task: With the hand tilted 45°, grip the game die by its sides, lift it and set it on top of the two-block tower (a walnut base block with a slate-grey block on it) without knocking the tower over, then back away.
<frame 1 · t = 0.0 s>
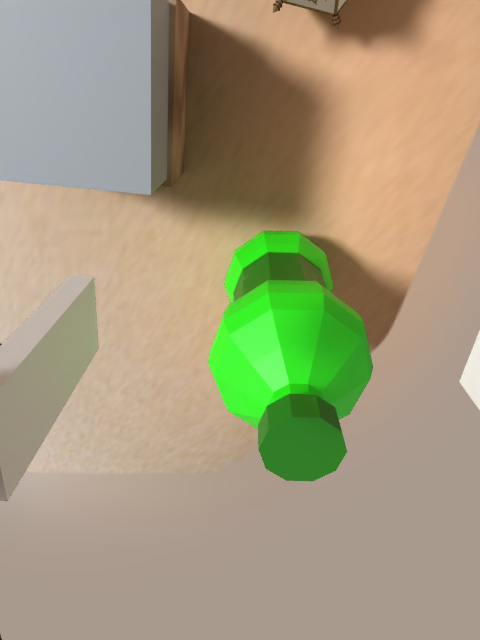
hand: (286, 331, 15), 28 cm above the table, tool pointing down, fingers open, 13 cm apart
tower base: (115, 90, 37), on the table, touching tower top
tower top: (89, 89, 31), point 7 cm above the table, touching tower base
plastic bottle: (276, 267, 44), on the table
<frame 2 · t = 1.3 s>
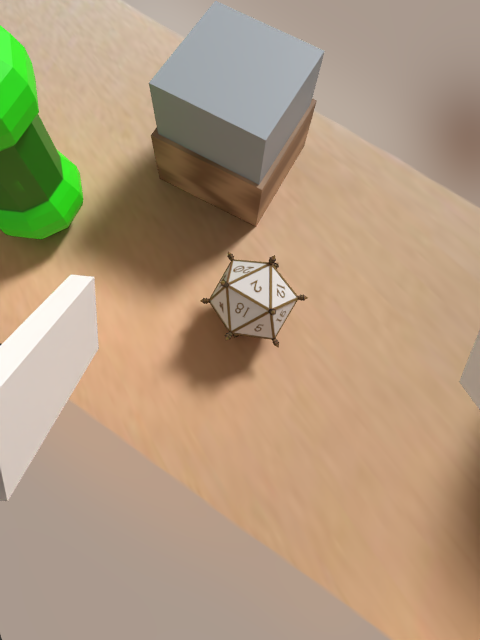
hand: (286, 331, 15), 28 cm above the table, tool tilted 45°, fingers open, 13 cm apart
tower base: (233, 163, 50), on the table, touching tower top
tower top: (236, 118, 43), point 7 cm above the table, touching tower base
game die: (249, 313, 45), on the table
plastic bottle: (46, 212, 47), on the table
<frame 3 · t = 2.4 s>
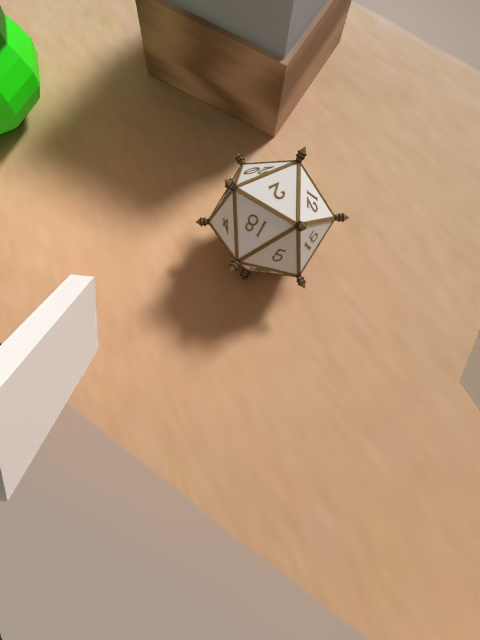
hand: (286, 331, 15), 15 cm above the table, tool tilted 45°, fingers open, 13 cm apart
tower base: (246, 59, 38), on the table, touching tower top
game die: (263, 248, 33), on the table
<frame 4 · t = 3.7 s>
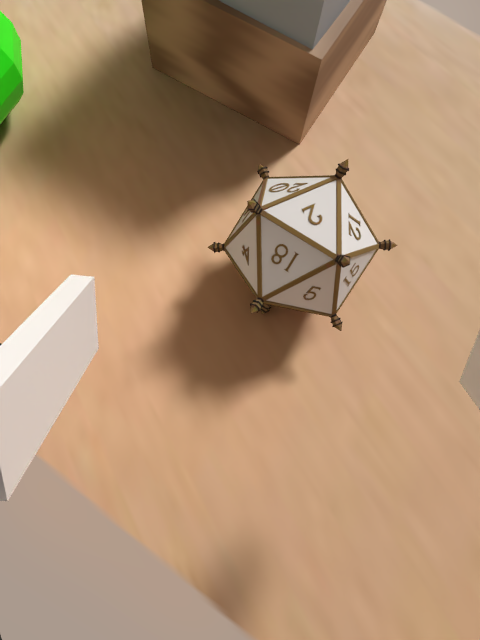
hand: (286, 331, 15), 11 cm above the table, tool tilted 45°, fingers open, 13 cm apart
tower base: (266, 52, 33), on the table, touching tower top
game die: (287, 276, 27), on the table
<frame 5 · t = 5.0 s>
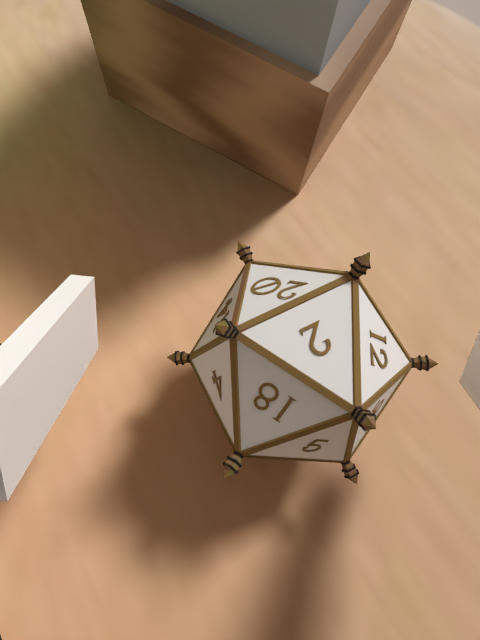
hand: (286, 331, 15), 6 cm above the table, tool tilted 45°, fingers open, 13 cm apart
tower base: (255, 73, 26), on the table
game die: (281, 379, 20), on the table
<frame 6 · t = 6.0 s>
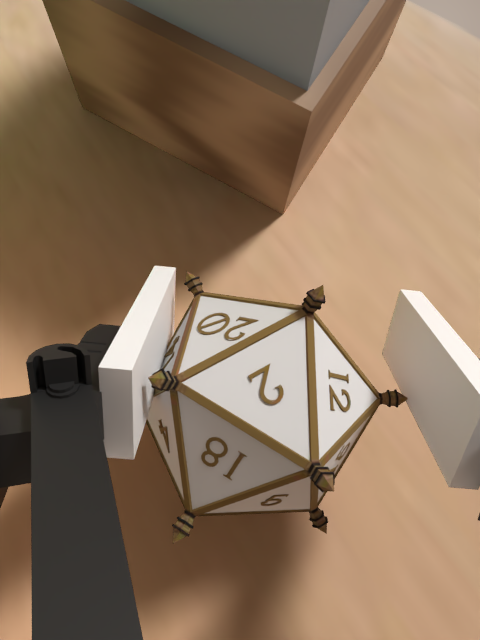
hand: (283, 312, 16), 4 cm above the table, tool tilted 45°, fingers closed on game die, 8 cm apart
tower base: (238, 84, 24), on the table, touching tower top
game die: (246, 412, 19), on the table, touching gripper
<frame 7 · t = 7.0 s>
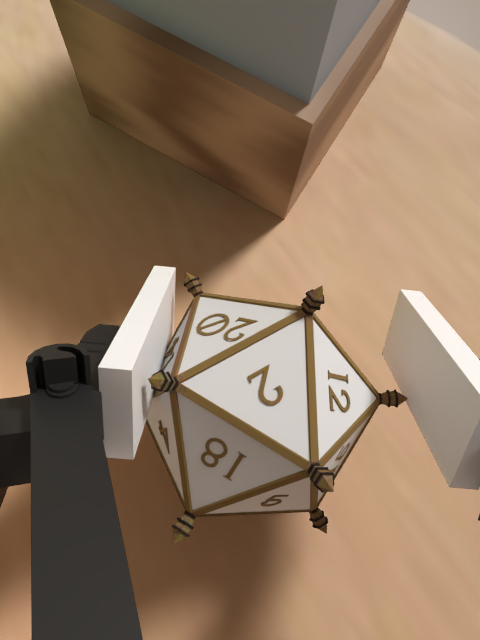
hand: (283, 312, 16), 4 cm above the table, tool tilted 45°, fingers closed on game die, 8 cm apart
tower base: (241, 93, 25), on the table
game die: (246, 412, 19), on the table, touching gripper
when the fingers open (18 cm above the table, at t = 12.6 s): game die drops 2 cm, resting on tower top.
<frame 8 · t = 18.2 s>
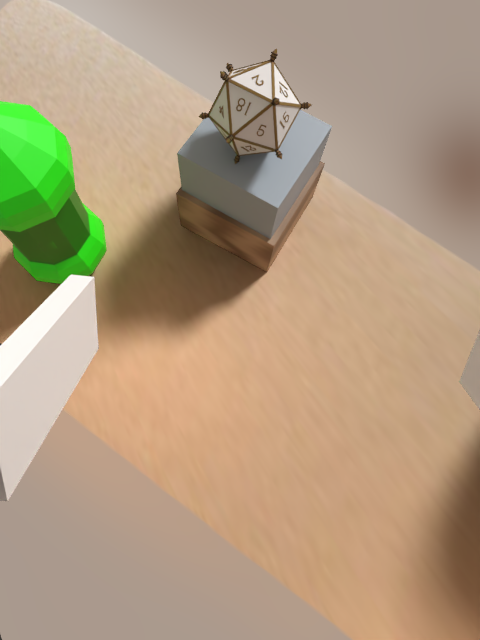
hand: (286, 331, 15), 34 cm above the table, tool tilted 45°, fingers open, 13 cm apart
tower base: (247, 212, 55), on the table, touching tower top
tower top: (251, 177, 48), point 7 cm above the table, touching game die, tower base
game die: (250, 143, 43), point 13 cm above the table, touching tower top
plastic bottle: (71, 257, 52), on the table
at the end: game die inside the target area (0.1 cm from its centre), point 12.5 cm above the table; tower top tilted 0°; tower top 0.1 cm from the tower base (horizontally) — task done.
